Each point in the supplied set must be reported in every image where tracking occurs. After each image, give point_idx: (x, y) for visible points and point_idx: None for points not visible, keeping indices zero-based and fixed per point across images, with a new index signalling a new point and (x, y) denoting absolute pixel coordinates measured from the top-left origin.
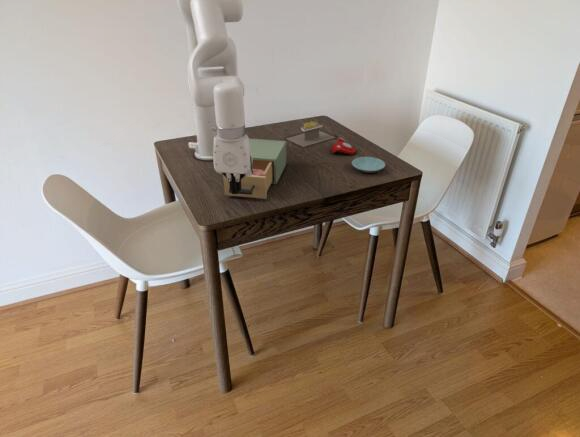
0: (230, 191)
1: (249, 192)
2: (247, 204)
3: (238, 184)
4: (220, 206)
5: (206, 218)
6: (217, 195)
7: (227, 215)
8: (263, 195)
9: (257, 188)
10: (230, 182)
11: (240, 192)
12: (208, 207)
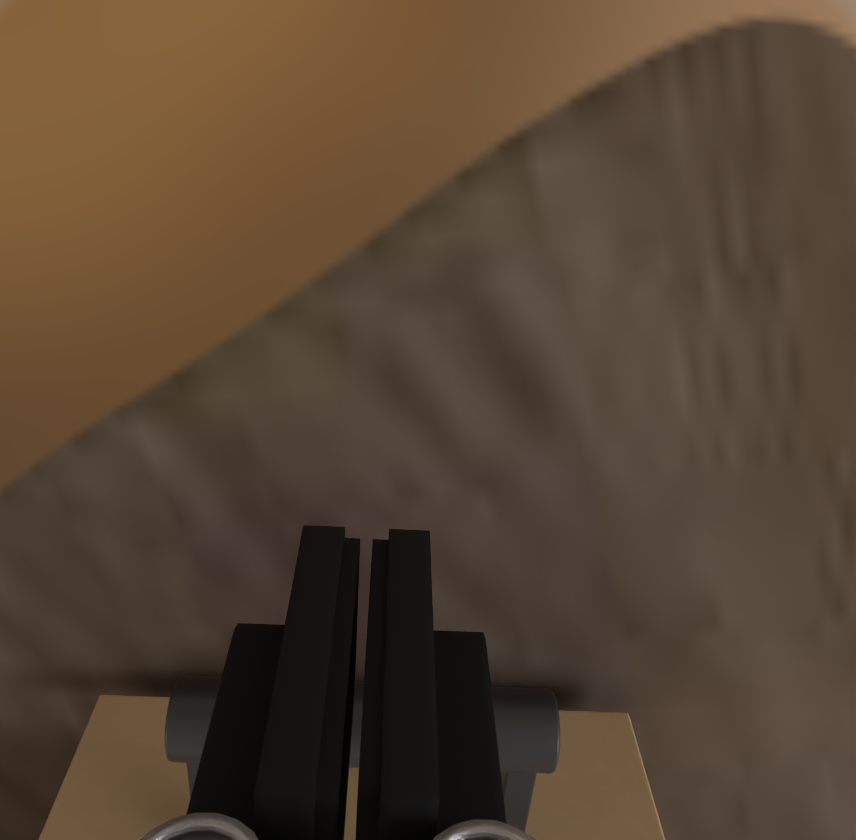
0: (529, 701)
1: (201, 702)
2: None
3: (230, 758)
4: (647, 509)
5: (813, 188)
6: (717, 711)
7: (509, 310)
8: (115, 731)
9: (168, 820)
10: (466, 800)
11: (358, 694)
12: (805, 469)
